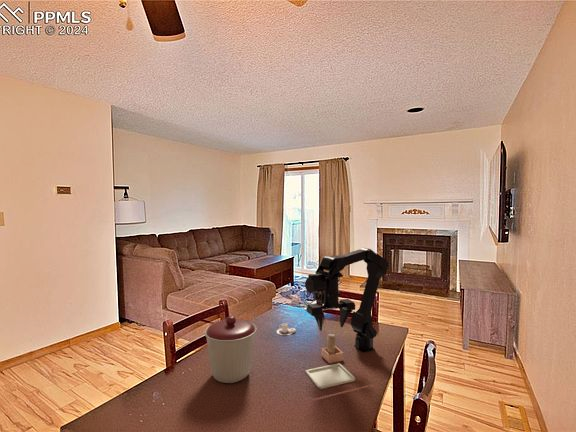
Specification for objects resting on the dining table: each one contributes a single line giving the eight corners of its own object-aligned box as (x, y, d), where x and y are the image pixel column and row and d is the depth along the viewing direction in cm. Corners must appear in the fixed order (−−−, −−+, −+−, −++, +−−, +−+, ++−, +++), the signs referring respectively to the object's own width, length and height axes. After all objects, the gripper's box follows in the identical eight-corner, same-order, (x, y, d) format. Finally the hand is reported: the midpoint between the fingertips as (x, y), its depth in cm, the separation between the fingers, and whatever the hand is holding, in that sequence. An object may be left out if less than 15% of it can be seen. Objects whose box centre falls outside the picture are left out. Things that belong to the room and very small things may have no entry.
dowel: (332, 355, 124) (332, 333, 123) (336, 359, 121) (336, 336, 120) (325, 357, 123) (326, 334, 122) (329, 360, 120) (329, 337, 119)
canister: (264, 366, 116) (264, 311, 115) (242, 395, 99) (241, 329, 98) (222, 358, 122) (221, 305, 121) (194, 384, 105) (193, 322, 104)
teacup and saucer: (297, 332, 149) (297, 323, 149) (288, 338, 142) (289, 329, 142) (282, 328, 153) (282, 319, 153) (273, 333, 147) (273, 325, 147)
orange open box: (335, 354, 126) (335, 345, 126) (343, 361, 120) (343, 352, 120) (321, 357, 124) (321, 348, 124) (329, 364, 118) (329, 355, 118)
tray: (339, 366, 117) (339, 363, 117) (356, 381, 107) (356, 378, 106) (305, 373, 112) (305, 370, 112) (319, 390, 101) (319, 387, 101)
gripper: (341, 281, 131) (341, 318, 132) (300, 286, 125) (300, 324, 126) (356, 288, 121) (356, 328, 122) (312, 294, 114) (312, 335, 115)
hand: (331, 328), depth 121 cm, fingers open, 9 cm apart
